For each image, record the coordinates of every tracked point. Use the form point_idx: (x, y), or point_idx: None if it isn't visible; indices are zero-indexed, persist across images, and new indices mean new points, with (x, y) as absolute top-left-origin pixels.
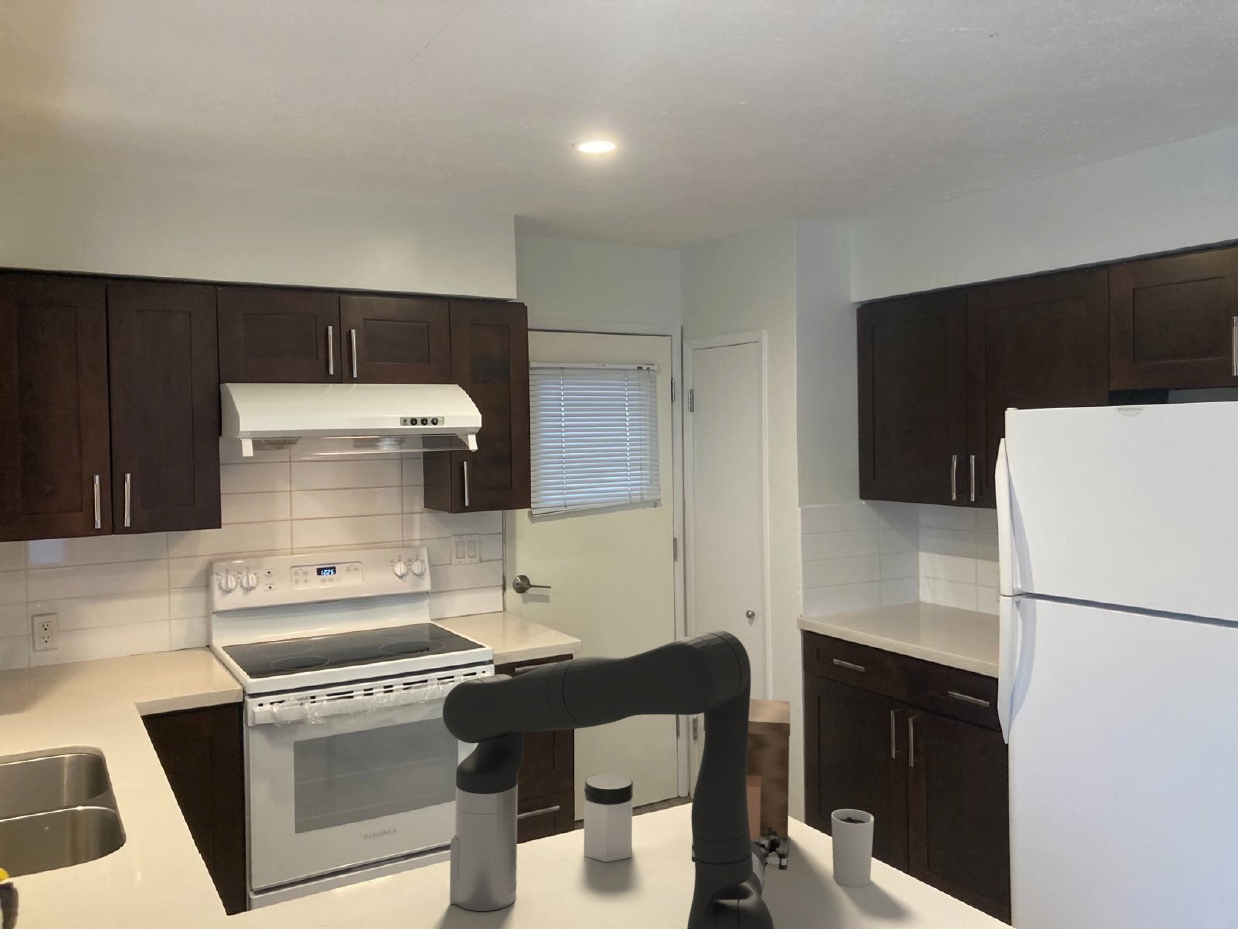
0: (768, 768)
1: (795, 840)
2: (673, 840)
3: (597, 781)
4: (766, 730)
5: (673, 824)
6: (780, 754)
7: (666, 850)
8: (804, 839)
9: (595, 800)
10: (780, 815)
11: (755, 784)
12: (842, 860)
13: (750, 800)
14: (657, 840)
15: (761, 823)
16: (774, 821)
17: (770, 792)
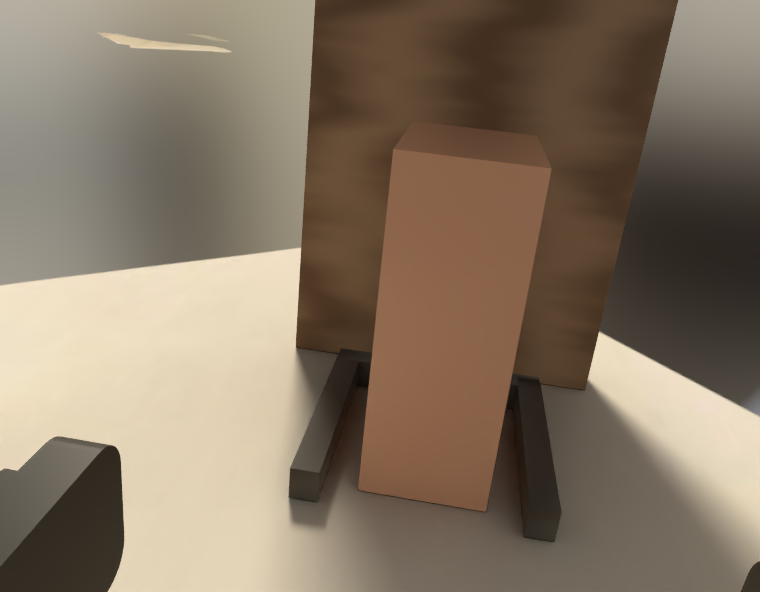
0: (559, 118)
1: (614, 397)
2: (143, 373)
3: None
4: None
5: (190, 305)
6: (624, 57)
7: (70, 429)
8: (644, 394)
9: None
10: (573, 307)
11: (520, 154)
12: None
13: (483, 237)
14: (76, 370)
15: None
16: (546, 326)
17: (550, 218)
